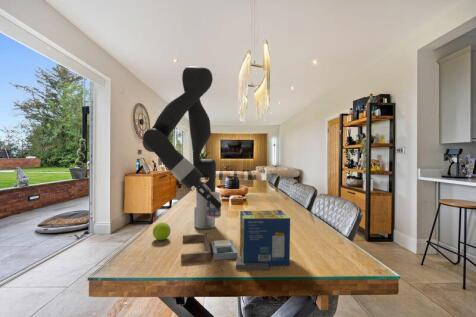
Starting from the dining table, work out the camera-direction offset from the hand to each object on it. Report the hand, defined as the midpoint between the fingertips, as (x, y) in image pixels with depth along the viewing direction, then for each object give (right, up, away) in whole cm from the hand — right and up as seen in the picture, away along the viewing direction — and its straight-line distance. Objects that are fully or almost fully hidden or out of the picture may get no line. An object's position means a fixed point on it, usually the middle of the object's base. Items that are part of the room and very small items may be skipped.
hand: (218, 205), depth 87 cm
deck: (+2, -16, -3) cm, 17 cm away
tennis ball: (-24, -16, +9) cm, 31 cm away
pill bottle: (-2, -4, 0) cm, 5 cm away
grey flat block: (+12, -17, -14) cm, 24 cm away
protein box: (+16, -17, -8) cm, 25 cm away
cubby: (-9, -16, -1) cm, 18 cm away
